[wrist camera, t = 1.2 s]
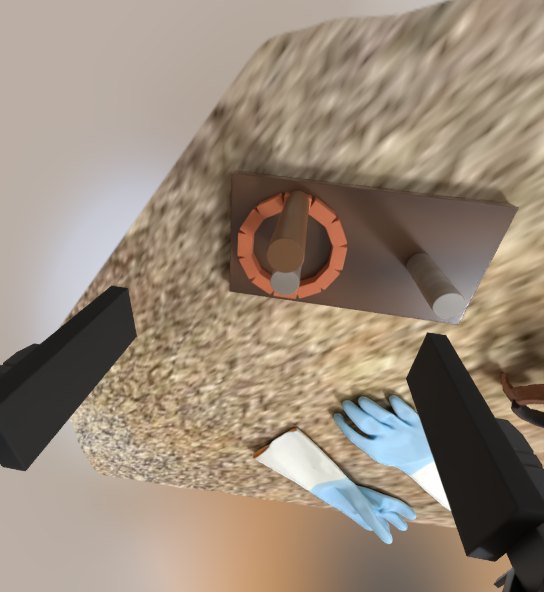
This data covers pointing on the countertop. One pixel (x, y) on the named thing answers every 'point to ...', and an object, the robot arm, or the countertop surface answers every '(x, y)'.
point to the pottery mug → (525, 400)
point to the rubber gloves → (379, 446)
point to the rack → (378, 246)
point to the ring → (291, 241)
